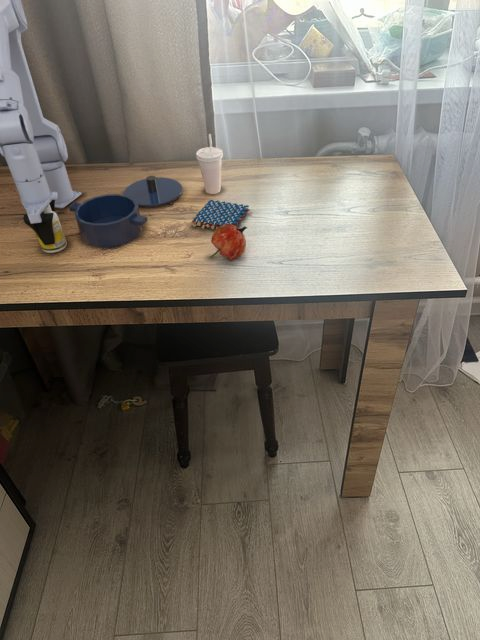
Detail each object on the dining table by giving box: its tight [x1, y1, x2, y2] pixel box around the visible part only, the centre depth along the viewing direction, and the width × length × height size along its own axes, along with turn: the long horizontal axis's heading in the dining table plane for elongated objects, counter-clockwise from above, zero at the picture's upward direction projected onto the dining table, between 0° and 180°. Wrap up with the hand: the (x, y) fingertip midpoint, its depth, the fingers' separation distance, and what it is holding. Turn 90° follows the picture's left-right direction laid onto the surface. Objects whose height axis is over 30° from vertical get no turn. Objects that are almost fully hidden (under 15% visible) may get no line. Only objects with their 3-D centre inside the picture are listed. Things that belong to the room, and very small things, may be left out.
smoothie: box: [195, 133, 224, 195], centre depth 121 cm, size 6×6×14 cm
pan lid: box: [123, 175, 184, 208], centre depth 124 cm, size 14×14×4 cm
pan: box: [68, 193, 148, 248], centre depth 112 cm, size 13×19×6 cm
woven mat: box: [191, 199, 250, 230], centre depth 115 cm, size 10×11×2 cm
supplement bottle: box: [34, 204, 68, 254], centre depth 106 cm, size 5×5×10 cm
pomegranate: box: [209, 224, 248, 261], centre depth 103 cm, size 7×7×10 cm
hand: (50, 236), depth 108 cm, fingers closed on supplement bottle, 5 cm apart
